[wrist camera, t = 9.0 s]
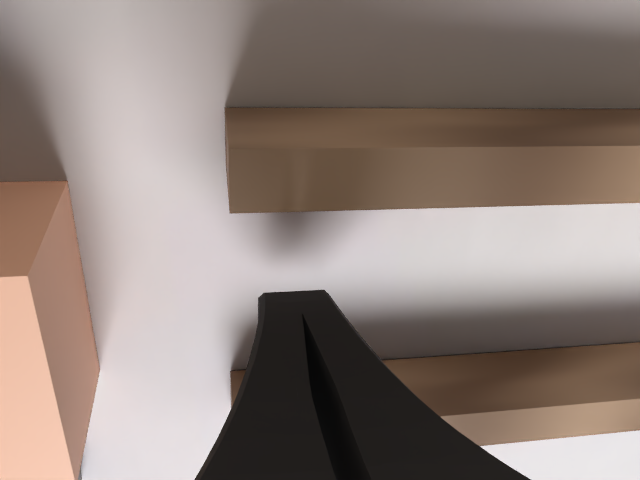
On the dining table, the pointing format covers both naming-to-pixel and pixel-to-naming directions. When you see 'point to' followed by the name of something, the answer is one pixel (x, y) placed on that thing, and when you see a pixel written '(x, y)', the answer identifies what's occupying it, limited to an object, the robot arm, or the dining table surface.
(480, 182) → the building blocks
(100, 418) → the dining table surface
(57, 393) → the terracotta block
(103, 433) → the dining table surface
